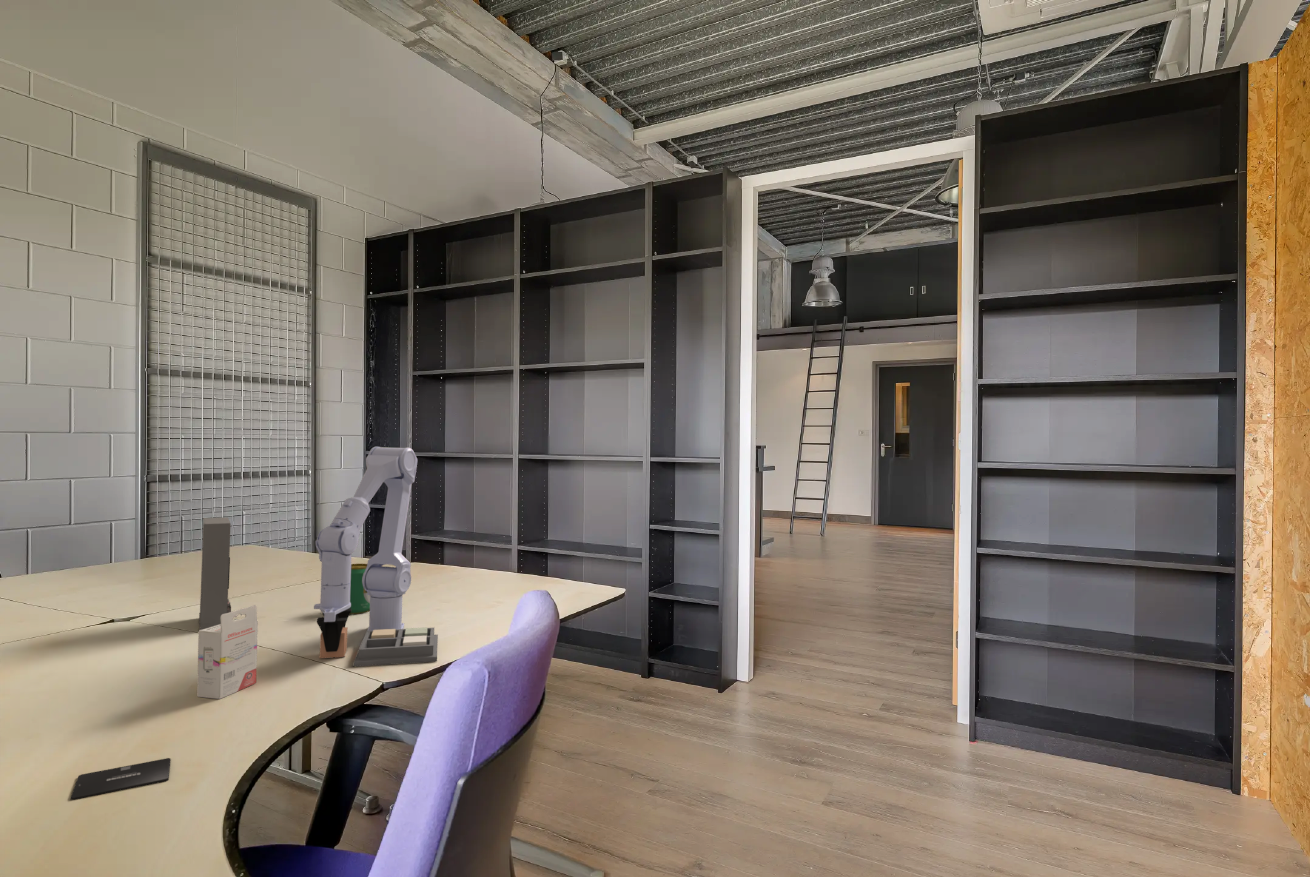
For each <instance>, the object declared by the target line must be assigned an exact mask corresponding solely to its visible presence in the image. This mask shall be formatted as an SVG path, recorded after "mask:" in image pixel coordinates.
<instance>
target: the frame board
mask: <svg viewBox="0 0 1310 877" xmlns="http://www.w3.org/2000/svg"><path fill="white" fill-rule="evenodd" d="M438 636H439V634H435V627H409V628H408V627H406V628H403V629H382V630H371V631H367V630H366V631H365V634H364V637H363V638H362V640H361V643H360V646H359V648H358V651H357V654H356V655H355V658H354V659H353V667H354V666H356V667H368V666H369V667H371V666H384V665H386V666H387V665H388V666H389V665H401V664H402V663H405V664H417V663H418V664H419V663H433V662H434V663H436V662H435V661H438V642H439V637H438Z"/></svg>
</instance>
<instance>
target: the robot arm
mask: <svg viewBox="0 0 1310 877" xmlns="http://www.w3.org/2000/svg"><path fill="white" fill-rule="evenodd" d="M418 460H419V459H418V458H417V455H416V453H415V452H414V450H413V449H412V448H411V447H385V446H384V447H382V446H374V447H372V448H371V449H370V450H369V452H368V455H367V456H366V457H365V466H366V469H365V472H364V473H363V476H362V478H361V480H360V482H359V485H358V487H357V489H356V491H355V492H354V495H353V496H352V497H348V498H345V500H344V502H343V503H342V504H341V507H340V508H339V510H338V512H337V513H336V514H335V516H334V517H333V519H332V521H331V523H330V524H329V526H328V525H327V526H326V527H324V528H323V529H321V530H320V531H319V533H318V535H317V536H316V537H317V538H316V540H315V547H316V550H317V552H318V559H319V562H321V571H320V572H321V575H320V603H315V604H314V605H313V609H314V610H319V611H320V612H322V615H323V616H322V617H317V619H316V623H317V626H318V628H319V629H320V631H321V633H322V635H323V639H324V645H325V649H326V652H335V651H337V650H338V647H339V643H340V637H341V632H342V629H343V627H346V624H347V621H348V620H349V619H348V618H349V616H350V615H351V614H350V613H351V611H352V609H351V608H350V607H351V603H350V586H351V564H352V556H353V555H352V554H353V553H354V552H355V551H356V549H357V548H358V545H359V540H360V539H359V538H360V536H361V531H360V530H361V528H362V526H363V525H364V523H365V521H366V519H367V517H368V516H369V514H370V512H371V507H370V504H369V503H370V502H371V500H373V499H372V498H374V496H375V495H376V493H377V492H378V490H380V487H381V486H382V485H383V483H384V484H385V485H386V486H387V493H386V494H387V495H386V500H385V507H384V512H383V519H382V527H381V532H380V539H379V546H378V552H377V553H376V554H374V555H373V556H372V557H369V559H368V560H367V563H366V564H367V567H366V570H365V572H364V574H363V578H362V584H363V587H364V589H365V590H366V591H367V595H370V611H369V620H368V624H369V625H368V628H367V629H366V632H367V631H371V630H382V629H405V623H404V622H402V621H403V620H402V618H403V616H402V615H403V595H405V594H406V592H407V591H408V590H409V588H410V587H411V583H412V575H411V566H412V565H411V562H410V561H409V560H408V559H407V558H406V557H405V556H404V555H403V554H402V552H403V545H404V538H405V532H406V525H407V519H408V518H407V517H408V511H409V503H410V498H411V491H412V484H413V483H415V479H416V473H417V468H418V466H417V465H418ZM385 565H389V566H385Z"/></svg>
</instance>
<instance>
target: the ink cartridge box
mask: <svg viewBox="0 0 1310 877" xmlns="http://www.w3.org/2000/svg"><path fill="white" fill-rule="evenodd" d="M257 609H258V607H257V605H256V604H253V605H250V606H247V607H243V608H240V609H236V610H231V612H229V613H226V614H222V615H221V617H220V620H221V624H219V625H216V626H213V627H209V628H206V629H203V630H200V629H199V630H198V645H197V646H198V648H197V683H196V684H197V688H196V689H197V690H196V691H197V692H196V693H197V694H196V696H197V697H198V698H206V699H208V698H209V699H216V700H220V699H223V698H225V697H228V696H230V695H232V694H235V693H237V692H239V691H241V690H244V689H246V688H248V687H250V686H252V685H254V684H256V683H257V669H258V668H257V666H258V665H257V662H258V632H259V630H258V625H259V622H258V613H257V612H258V610H257ZM239 615H241V616H242V615H243V616H244V617H242V618H239V619H238V618H237V617H238V616H239ZM234 618H236V619H234Z"/></svg>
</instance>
